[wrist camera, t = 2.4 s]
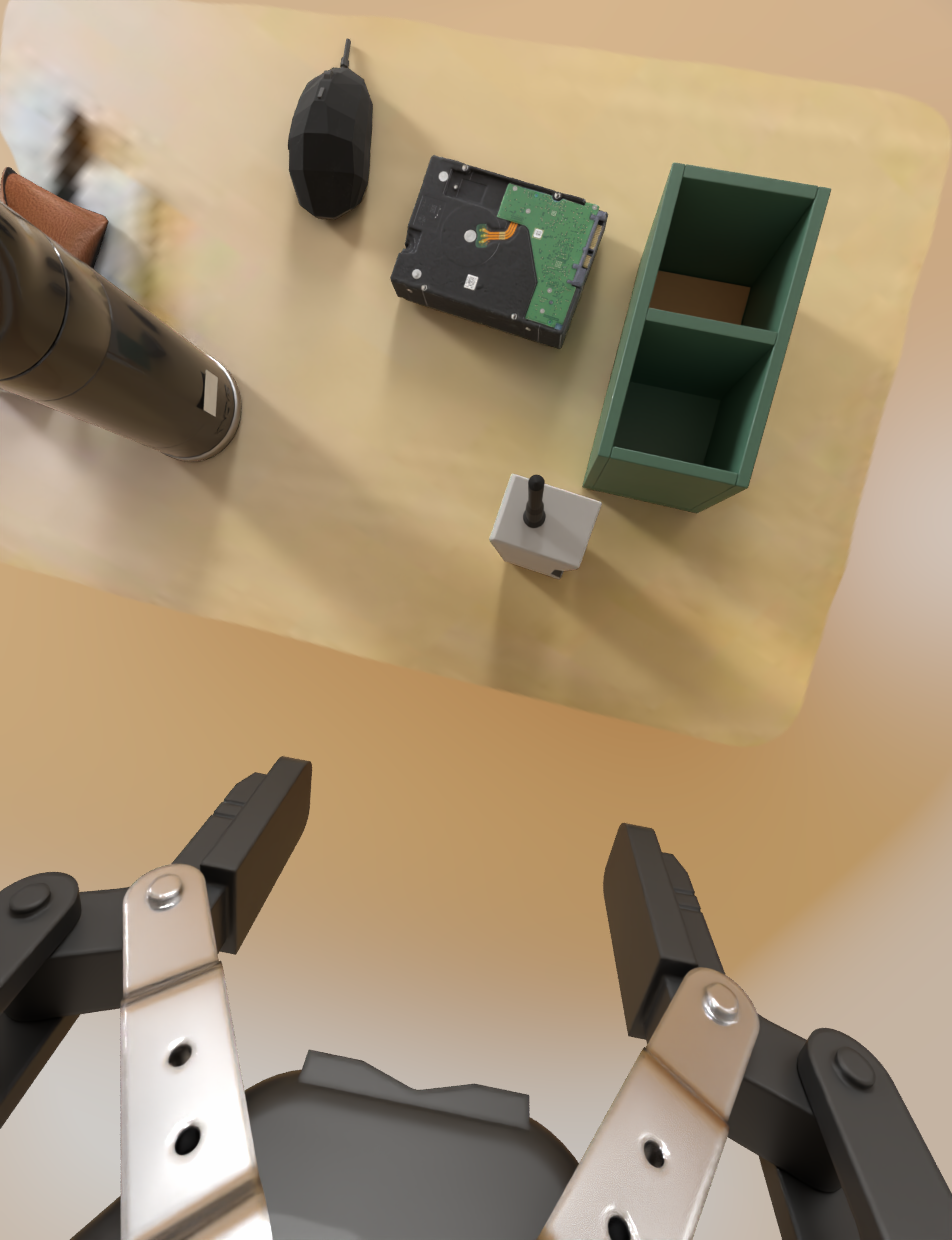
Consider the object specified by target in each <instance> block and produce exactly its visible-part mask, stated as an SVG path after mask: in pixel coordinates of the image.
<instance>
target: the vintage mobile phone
mask: <svg viewBox="0 0 952 1240" xmlns="http://www.w3.org/2000/svg"><path fill="white" fill-rule="evenodd" d="M601 505H602V503H601V502H600V501H597V500H594V499H591V498H587V497H584V496H581V495H578V494H575V493H572V492H569V491H566V490H563V489H559V488H556V487H553V486H550V485H547V484H545V482H544V479H543V477H542V476H540V475H533V476H531V477H530V479H528V478H525V477H522V476H519V475H516V474H511V477H510V480H509V482H508V485H507V488H506V491H505V494H504V497H503V500H502V503H501V506H500V509H499V512H498V515H497V518H496V521H495V524H494V527H493V530H492V532H491V535H490V538H489V540H490V542H491V543H492V545H493V546H494V547H495V549H496V550H497V551H498V553H499V554H500V556H501V557H502V558H503V560H504V561H506V562H509V563H512V564H515V565H518V566H521V567H524V568H527V569H530V570H533V571H535V572H538V573H541V574H544V575H547V576H550V577H553V578H556V579H561V576H562V573H563V571H568V570H575V569H578V568H579V567H580V564H581V561H582V558H583V555H584V553H585V550H586V547H587V544H588V541H589V539H590V536H591V533H592V530H593V527H594V524H595V522H596V519H597V516H598V513H599V510H600V508H601Z"/></svg>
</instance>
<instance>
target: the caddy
mask: <svg viewBox="0 0 952 1240" xmlns="http://www.w3.org/2000/svg"><path fill="white" fill-rule="evenodd" d="M830 192H831V189H830V188H825V187H818V186H814V185H808V184H802V183H796V182H790V181H784V180H778V179H772V178H766V177H760V176H754V175H748V174H742V173H735V172H729V171H723V170H717V169H711V168H705V167H699V166H693V165H686V166H685V164H680V163H673V164H672V167H671V170H670V173H669V176H668V179H667V182H666V185H665V188H664V191H663V194H662V197H661V200H660V203H659V206H658V210H657V213H656V216H655V219H654V222H653V225H652V228H651V231H650V234H649V237H648V240H647V243H646V246H645V249H644V252H643V255H642V258H641V261H640V264H639V268H638V272H637V276H636V280H635V284H634V288H633V291H632V295H631V299H630V303H629V307H628V311H627V315H626V319H625V323H624V326H623V330H622V334H621V338H620V342H619V346H618V350H617V354H616V358H615V361H614V365H613V369H612V373H611V377H610V381H609V385H608V389H607V393H606V397H605V400H604V404H603V408H602V412H601V416H600V420H599V424H598V428H597V432H596V435H595V439H594V443H593V447H592V451H591V455H590V459H589V463H588V467H587V470H586V474H585V478H584V482H583V486H582V487H583V488H587V489H592V490H596V491H601V492H605V493H609V494H614V495H618V496H623V497H627V498H632V499H636V500H641V501H645V502H649V503H654V504H658V505H663V506H667V507H672V508H676V509H680V510H685V511H689V512H694V513H699V512H701V511H703V510H705V509H707V508H709V507H711V506H713V505H715V504H717V503H719V502H721V501H723V500H725V499H727V498H729V497H731V496H733V495H735V494H737V493H739V492H741V491H743V490H745V489H747V488H748V486H749V482H750V479H751V475H752V471H753V468H754V464H755V461H756V457H757V454H758V450H759V446H760V443H761V439H762V436H763V432H764V428H765V425H766V421H767V418H768V414H769V411H770V407H771V403H772V400H773V396H774V393H775V389H776V385H777V382H778V378H779V375H780V371H781V368H782V364H783V360H784V357H785V353H786V350H787V346H788V342H789V339H790V335H791V332H792V328H793V325H794V321H795V317H796V314H797V310H798V307H799V303H800V299H801V296H802V292H803V289H804V285H805V282H806V278H807V274H808V271H809V267H810V264H811V260H812V256H813V253H814V249H815V246H816V242H817V239H818V235H819V231H820V228H821V224H822V221H823V217H824V213H825V210H826V206H827V203H828V199H829V196H830Z"/></svg>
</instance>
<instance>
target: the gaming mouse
mask: <svg viewBox="0 0 952 1240" xmlns="http://www.w3.org/2000/svg"><path fill="white" fill-rule="evenodd" d="M350 44H351V41H350V39H346V45H345V51H344V57H343V58H342V59H341V65H340V68H332V69H330V70H328V71H324V73H323V74H321V75H319V76H317V77H316V78H314V79H313V80H311V81H310V82H308V83H307V85H306V87H305V89H304V91H303V93H302V95H301V97H300V99H299V102H298V105H297V108H296V110H295V113H294V116H293V119H292V124H291V128H290V133H289V139H288V150H289V172H290V176H291V179H292V182H293V186H294V189H295V192H296V195H297V198H298V201H299V204H300V205H301V206H302V207H303V208H304V209H306V210H307V211H308V212H310V213H311V214H312V215H313V216H315V217H317V218H321V219H337V218H339V217H340V216H342V215H344V214H345V213H347V212H349V211H350V210H352V209H354V208H355V207H356V206H357V205H358V204H359V203H360V202H361V200H362V198H363V195H364V192H365V190H366V187H367V184H368V176H369V166H370V145H371V133H372V110H373V104H372V101H371V99H370V96H369V93H368V90H367V87H366V84H365V82H364V79H362V78H361V77H360V76H358V75H357V74H355V73H354V72H353V71H351V70H350V69H349V68H348V66H349V61H348V57H349V51H350Z"/></svg>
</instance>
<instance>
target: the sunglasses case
mask: <svg viewBox="0 0 952 1240" xmlns="http://www.w3.org/2000/svg"><path fill="white" fill-rule="evenodd" d="M0 200H1V201H2V202H3V203H5V204H6V205H7V206H9V207H10V208H11V209H13V210H14V211H15V212H17V213H18V214H19V215H21V216H22V217H23V218H25V219H26V220H28V221H29V222H30V223H32V224H33V225H34V226H35V227H37V228H38V229H40V230H41V231H42V232H44V233H45V234H46V235H48V236H49V237H50V238H52V239H53V240H54V241H56V242H57V243H58V244H60V245H61V246H62V247H64V248H65V249H66V250H68V251H69V252H70V253H72V254H73V255H74V256H76V257H77V258H78V259H80V260H81V261H82V262H84V263H85V264H87V265H88V266H89V267H91V268H92V269H93V267H94V264H95V261H96V258H97V255H98V253H99V250H100V247H101V244H102V240H103V237H104V234H105V231H106V228H107V224H108V220H107V219H106V217H105V216H103V215H101V214H98V213H95V212H92V211H90V210H86V209H84V208H81V207H79V206H76V205H74V204H72V203H70V202H68V201H66V200H64V199H61V198H59V197H58V196H56V195H54V194H53V193H51V192H49V191H47V190H45V189H43V188H42V187H40V186H38V185H36V184H34V183H33V182H31V181H29V180H27V179H25V178H24V177H22V176H20V175H18V174H17V173H16V172H15V171H13V170H12V168H10V167H6V168H5V169H4V171H3V173H2V178H1V184H0ZM0 389H1V388H0Z"/></svg>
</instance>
